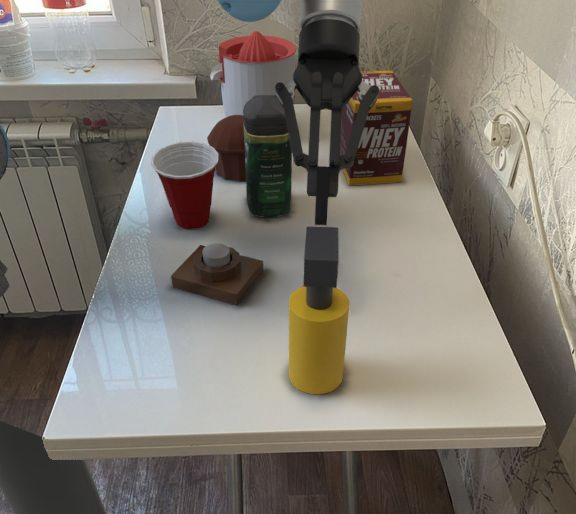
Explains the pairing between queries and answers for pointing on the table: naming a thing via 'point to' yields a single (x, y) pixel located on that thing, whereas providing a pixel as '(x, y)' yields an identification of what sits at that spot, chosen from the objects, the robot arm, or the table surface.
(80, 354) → the table surface
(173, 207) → the plastic cup
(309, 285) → the spray bottle
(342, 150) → the supplement box
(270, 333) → the table surface
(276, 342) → the table surface
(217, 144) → the muffin
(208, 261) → the button
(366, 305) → the table surface
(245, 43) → the citrus juicer
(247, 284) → the button box
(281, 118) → the coffee jar
